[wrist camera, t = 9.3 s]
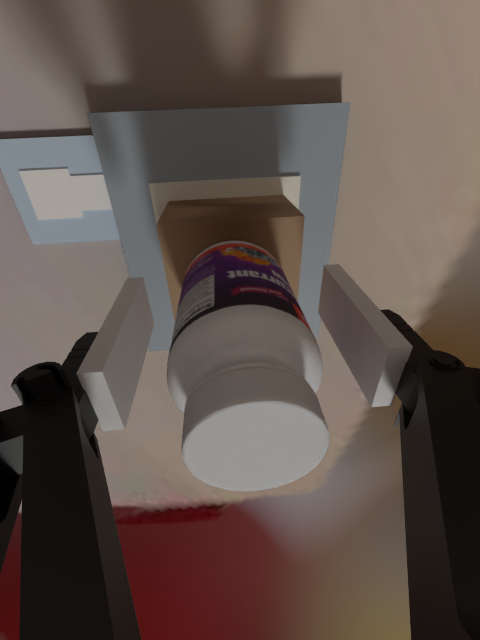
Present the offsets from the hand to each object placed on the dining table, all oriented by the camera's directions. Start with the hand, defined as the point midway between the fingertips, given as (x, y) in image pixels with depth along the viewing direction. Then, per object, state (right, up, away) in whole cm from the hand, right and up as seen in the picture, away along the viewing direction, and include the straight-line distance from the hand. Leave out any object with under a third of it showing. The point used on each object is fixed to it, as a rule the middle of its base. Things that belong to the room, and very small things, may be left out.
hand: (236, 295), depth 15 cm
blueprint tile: (-10, +7, +4) cm, 12 cm away
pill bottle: (0, +1, +1) cm, 1 cm away
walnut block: (0, +3, +5) cm, 6 cm away
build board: (-1, +4, +6) cm, 7 cm away
